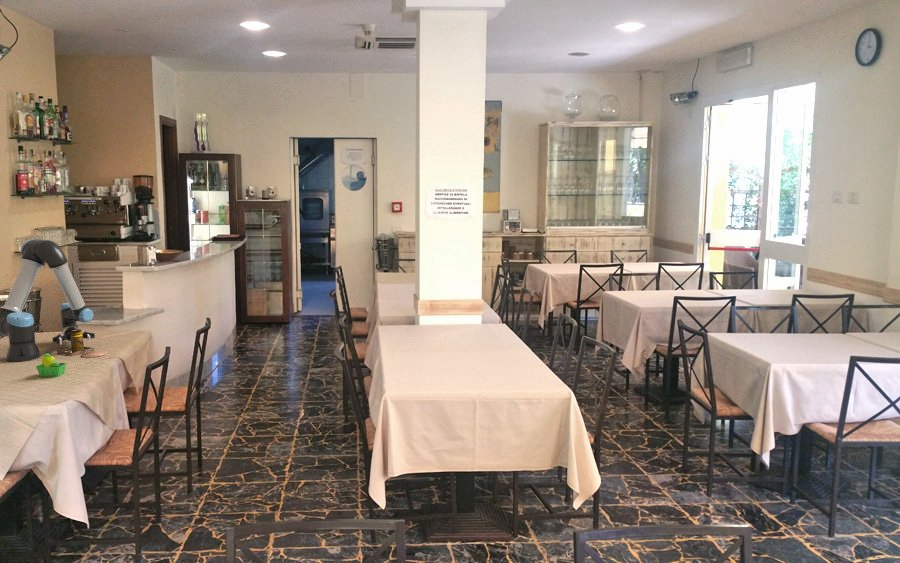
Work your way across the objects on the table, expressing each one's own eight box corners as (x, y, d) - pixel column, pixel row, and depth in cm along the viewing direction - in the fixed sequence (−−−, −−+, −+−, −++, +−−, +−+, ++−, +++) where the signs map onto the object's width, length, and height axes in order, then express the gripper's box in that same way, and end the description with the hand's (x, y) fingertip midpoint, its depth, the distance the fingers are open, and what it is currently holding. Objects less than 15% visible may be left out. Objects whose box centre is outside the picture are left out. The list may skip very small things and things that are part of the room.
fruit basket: (68, 373, 356) (66, 350, 355) (57, 378, 348) (55, 354, 346) (45, 373, 357) (43, 349, 356) (34, 378, 348) (31, 354, 347)
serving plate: (91, 358, 384) (91, 357, 384) (76, 356, 390) (76, 354, 390) (111, 353, 395) (111, 352, 394) (96, 351, 400) (96, 350, 400)
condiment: (86, 352, 400) (84, 330, 398) (69, 354, 394) (67, 332, 392) (81, 349, 405) (80, 328, 403) (65, 352, 399) (63, 330, 397)
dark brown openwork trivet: (71, 356, 391) (71, 353, 390) (57, 353, 396) (56, 350, 396) (94, 350, 402) (94, 347, 402) (79, 348, 408) (79, 345, 408)
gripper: (96, 337, 420) (101, 344, 403) (46, 343, 408) (49, 350, 390) (95, 324, 419) (100, 330, 402) (45, 329, 406) (48, 336, 389)
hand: (75, 340), depth 396 cm, fingers open, 13 cm apart
